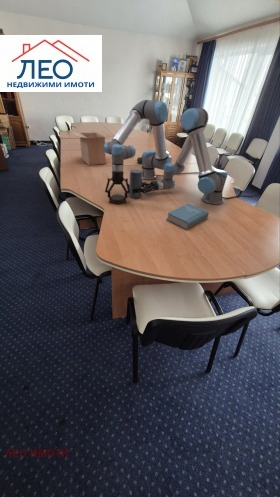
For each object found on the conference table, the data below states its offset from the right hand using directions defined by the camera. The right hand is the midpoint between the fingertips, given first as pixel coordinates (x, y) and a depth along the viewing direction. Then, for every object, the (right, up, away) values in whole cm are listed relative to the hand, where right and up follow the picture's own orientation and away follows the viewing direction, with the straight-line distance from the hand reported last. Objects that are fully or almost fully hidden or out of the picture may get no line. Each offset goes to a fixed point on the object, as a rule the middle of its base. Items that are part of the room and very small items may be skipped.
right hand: (129, 188), depth 164 cm
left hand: (-9, -11, -5) cm, 15 cm away
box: (-43, +49, +72) cm, 97 cm away
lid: (-8, -8, -7) cm, 14 cm away
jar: (+4, -4, +5) cm, 8 cm away
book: (+38, -26, -20) cm, 50 cm away
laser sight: (+15, +47, +76) cm, 90 cm away
